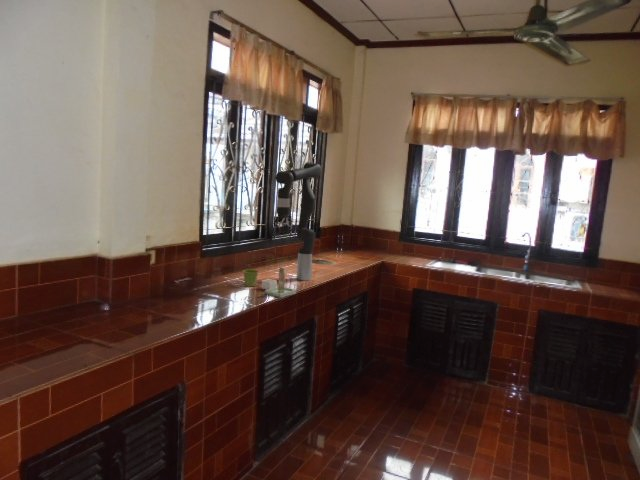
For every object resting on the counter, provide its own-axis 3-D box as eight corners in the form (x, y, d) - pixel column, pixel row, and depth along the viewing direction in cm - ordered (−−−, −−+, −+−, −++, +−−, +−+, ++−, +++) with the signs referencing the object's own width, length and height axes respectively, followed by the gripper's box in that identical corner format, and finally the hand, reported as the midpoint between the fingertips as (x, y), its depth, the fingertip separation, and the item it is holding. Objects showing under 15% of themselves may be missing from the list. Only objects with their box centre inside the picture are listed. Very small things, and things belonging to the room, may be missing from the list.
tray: (281, 289, 271) (281, 286, 271) (296, 293, 265) (296, 289, 265) (264, 293, 259) (264, 290, 259) (279, 297, 253) (280, 294, 252)
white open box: (268, 287, 275) (268, 278, 274) (276, 289, 272) (276, 280, 271) (261, 288, 270) (261, 280, 269) (269, 290, 267) (270, 282, 266)
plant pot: (259, 284, 281) (260, 270, 279) (256, 287, 271) (256, 273, 270) (244, 283, 281) (245, 269, 280) (240, 286, 272) (241, 271, 271)
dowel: (280, 291, 264) (282, 267, 262) (285, 292, 262) (286, 268, 261) (276, 292, 261) (278, 267, 260) (281, 293, 260) (282, 268, 258)
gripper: (285, 205, 280) (284, 231, 283) (270, 205, 268) (269, 233, 271) (295, 206, 276) (294, 233, 279) (280, 206, 264) (279, 235, 267)
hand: (282, 233), depth 275 cm, fingers open, 8 cm apart
